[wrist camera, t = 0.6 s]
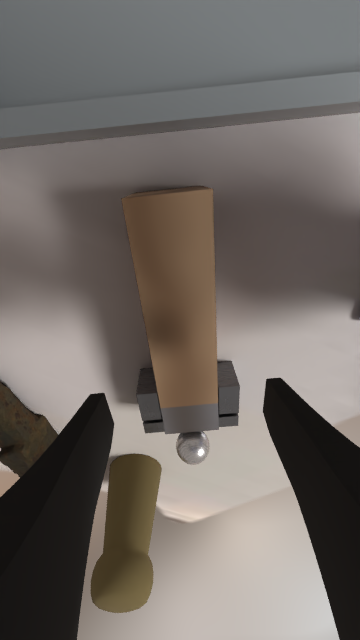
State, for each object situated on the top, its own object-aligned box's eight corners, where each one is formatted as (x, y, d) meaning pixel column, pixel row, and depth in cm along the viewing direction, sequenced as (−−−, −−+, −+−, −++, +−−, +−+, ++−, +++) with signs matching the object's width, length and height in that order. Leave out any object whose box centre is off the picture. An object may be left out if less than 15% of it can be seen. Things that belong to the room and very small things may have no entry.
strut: (200, 185, 15) (212, 188, 11) (209, 382, 23) (218, 429, 19) (135, 192, 15) (121, 198, 11) (166, 386, 23) (165, 434, 19)
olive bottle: (171, 471, 30) (172, 609, 20) (133, 489, 32) (116, 624, 22) (139, 447, 27) (121, 591, 18) (98, 467, 29) (63, 609, 19)
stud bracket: (231, 361, 22) (251, 421, 16) (230, 403, 25) (247, 467, 19) (140, 369, 22) (130, 431, 17) (149, 410, 25) (142, 476, 19)
